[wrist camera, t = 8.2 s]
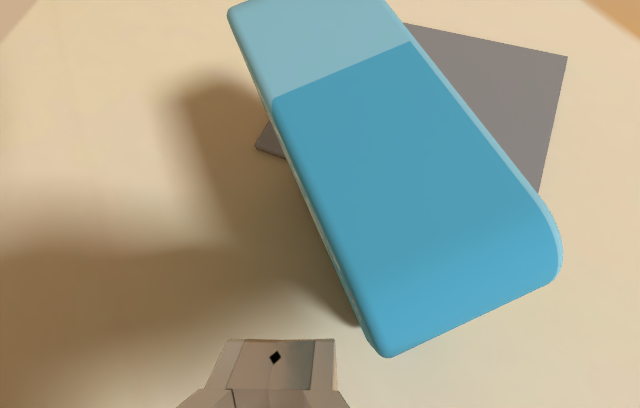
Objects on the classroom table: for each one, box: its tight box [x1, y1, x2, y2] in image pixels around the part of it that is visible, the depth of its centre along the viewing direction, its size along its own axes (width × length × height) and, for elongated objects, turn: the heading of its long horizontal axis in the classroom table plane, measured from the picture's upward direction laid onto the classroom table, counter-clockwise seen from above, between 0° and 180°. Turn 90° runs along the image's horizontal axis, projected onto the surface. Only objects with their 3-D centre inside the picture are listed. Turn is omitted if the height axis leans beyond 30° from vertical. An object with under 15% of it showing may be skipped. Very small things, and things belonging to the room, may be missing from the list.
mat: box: [255, 23, 568, 193], centre depth 23 cm, size 15×18×1 cm
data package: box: [227, 0, 563, 358], centre depth 14 cm, size 12×4×12 cm, turn 23°
